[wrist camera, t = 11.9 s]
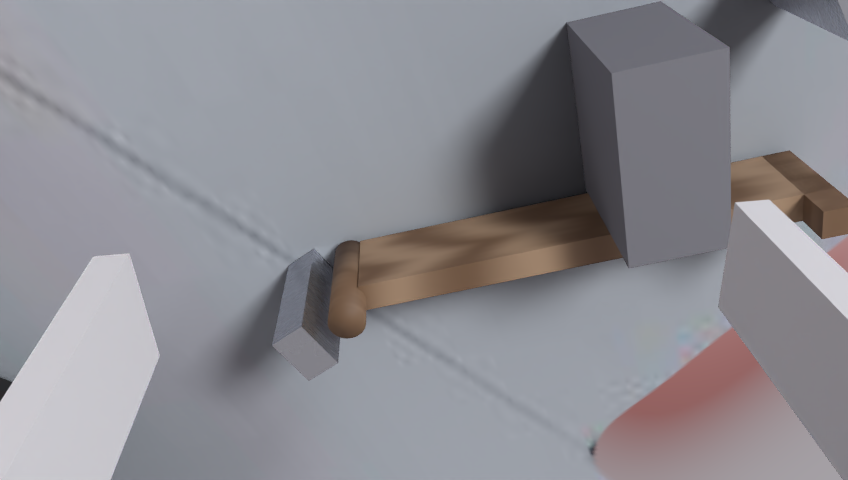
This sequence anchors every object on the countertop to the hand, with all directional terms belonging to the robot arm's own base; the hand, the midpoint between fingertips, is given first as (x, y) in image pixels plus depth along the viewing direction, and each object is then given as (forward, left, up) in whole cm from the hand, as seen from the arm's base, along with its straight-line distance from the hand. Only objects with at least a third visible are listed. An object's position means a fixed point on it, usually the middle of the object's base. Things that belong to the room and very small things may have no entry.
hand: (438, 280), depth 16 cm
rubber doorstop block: (+7, -11, -26) cm, 29 cm away
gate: (0, -15, -25) cm, 29 cm away
